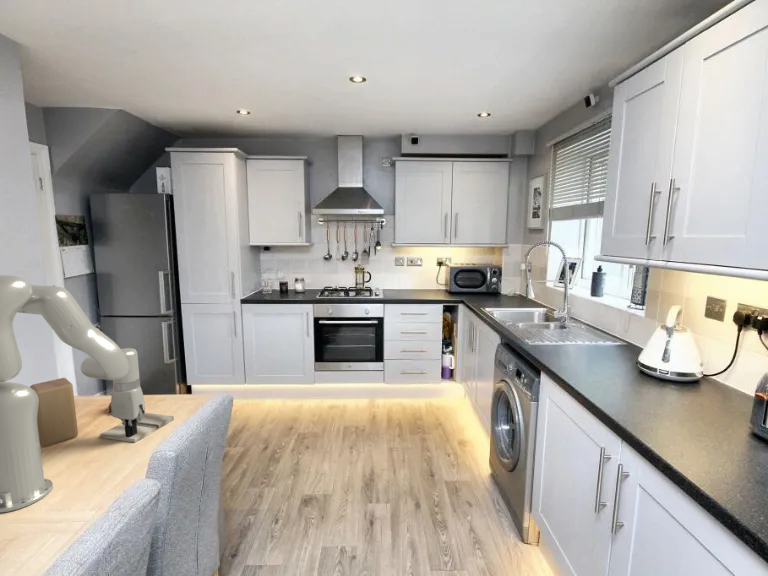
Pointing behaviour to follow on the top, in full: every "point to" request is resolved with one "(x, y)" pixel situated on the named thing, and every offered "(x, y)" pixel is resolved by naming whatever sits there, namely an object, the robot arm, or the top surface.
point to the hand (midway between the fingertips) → (131, 435)
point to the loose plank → (119, 434)
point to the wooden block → (55, 411)
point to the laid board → (155, 420)
